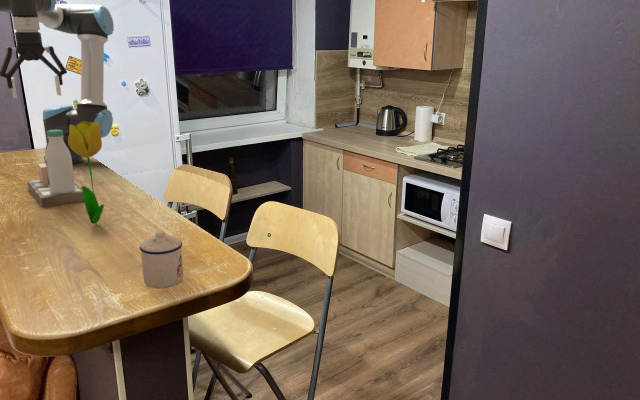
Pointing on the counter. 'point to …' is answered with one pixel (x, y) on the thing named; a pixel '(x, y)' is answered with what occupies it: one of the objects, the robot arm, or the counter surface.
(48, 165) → the milk bottle
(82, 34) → the robot arm
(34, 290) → the counter surface
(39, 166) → the terracotta block
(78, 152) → the flower
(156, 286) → the teacup with lid
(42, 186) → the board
